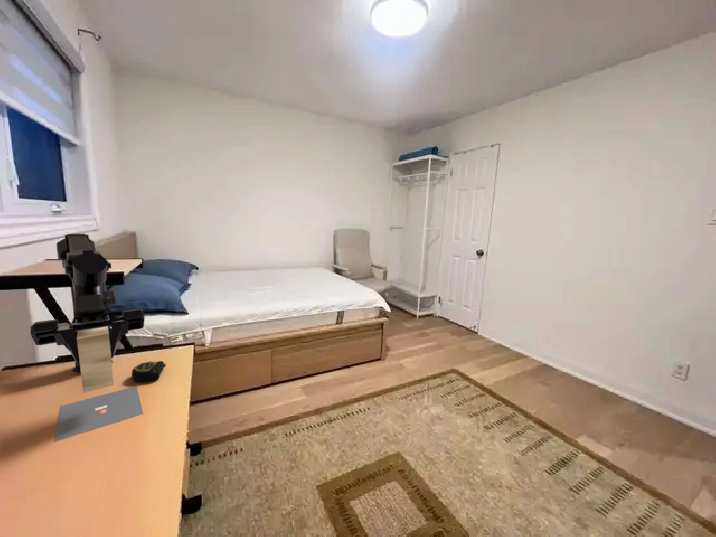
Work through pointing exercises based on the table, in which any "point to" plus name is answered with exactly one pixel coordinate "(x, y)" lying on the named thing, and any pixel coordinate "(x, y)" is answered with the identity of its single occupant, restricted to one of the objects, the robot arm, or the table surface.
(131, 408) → the slate tile
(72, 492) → the table surface
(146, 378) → the tape measure
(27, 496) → the table surface
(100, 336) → the birch block
